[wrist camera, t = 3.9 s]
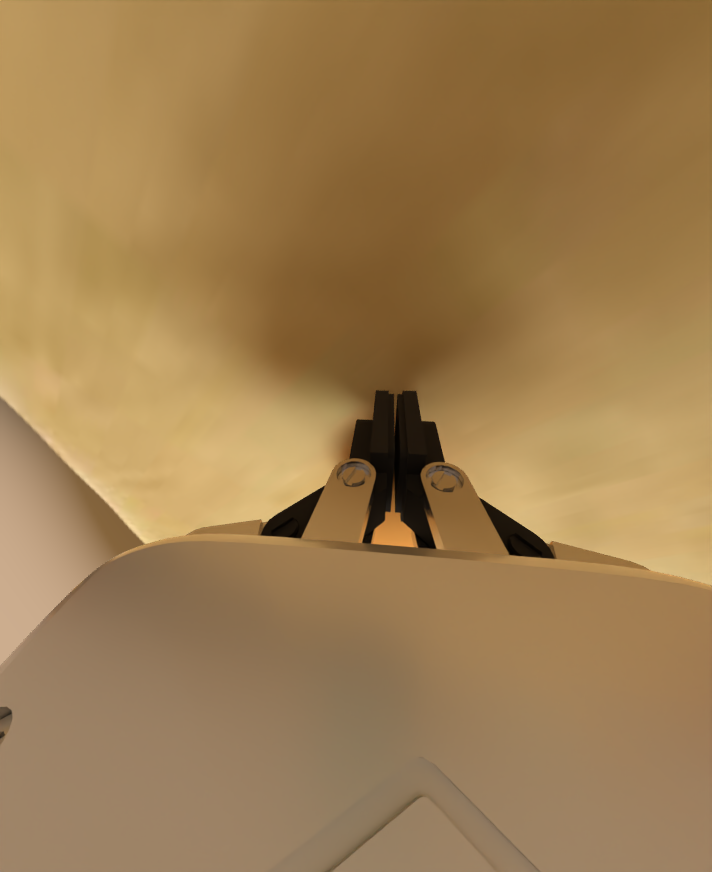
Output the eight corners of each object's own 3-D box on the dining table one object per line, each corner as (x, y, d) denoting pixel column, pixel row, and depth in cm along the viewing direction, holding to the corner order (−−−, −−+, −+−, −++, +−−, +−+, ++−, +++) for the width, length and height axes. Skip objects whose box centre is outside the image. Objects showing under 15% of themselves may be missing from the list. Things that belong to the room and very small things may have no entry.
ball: (449, 428, 12) (475, 537, 8) (436, 492, 16) (449, 588, 12) (340, 428, 13) (317, 527, 9) (351, 488, 17) (338, 577, 13)
